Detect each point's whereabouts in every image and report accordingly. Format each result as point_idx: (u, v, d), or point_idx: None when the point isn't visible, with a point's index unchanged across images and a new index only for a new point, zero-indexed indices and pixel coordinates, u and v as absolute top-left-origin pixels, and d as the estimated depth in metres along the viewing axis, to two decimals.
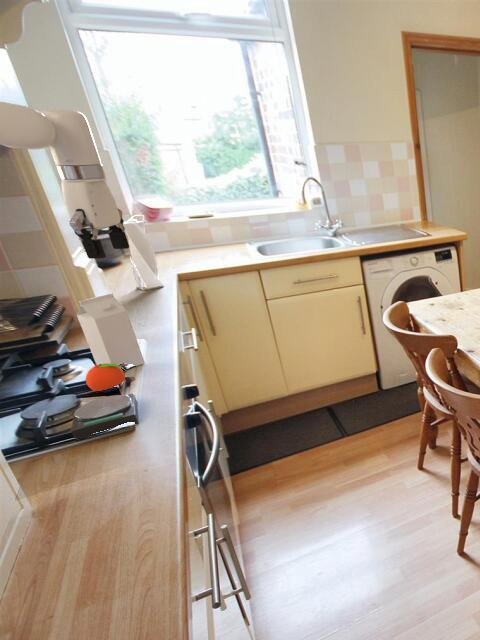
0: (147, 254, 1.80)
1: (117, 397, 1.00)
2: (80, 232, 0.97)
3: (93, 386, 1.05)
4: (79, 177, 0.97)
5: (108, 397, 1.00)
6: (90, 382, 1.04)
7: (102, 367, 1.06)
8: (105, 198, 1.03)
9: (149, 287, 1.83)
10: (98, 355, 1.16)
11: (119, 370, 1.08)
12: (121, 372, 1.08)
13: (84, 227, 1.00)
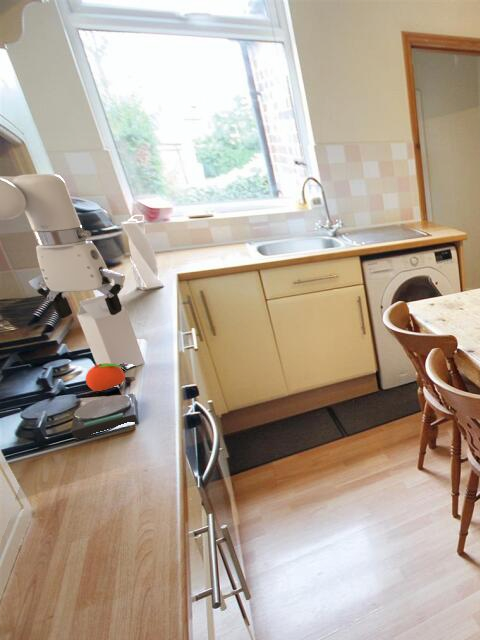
0: (147, 254, 1.80)
1: (117, 397, 1.00)
2: None
3: (93, 386, 1.05)
4: None
5: (108, 397, 1.00)
6: (90, 382, 1.04)
7: (102, 367, 1.06)
8: (65, 264, 0.96)
9: (149, 287, 1.83)
10: (98, 355, 1.16)
11: (119, 370, 1.08)
12: (121, 372, 1.08)
13: None
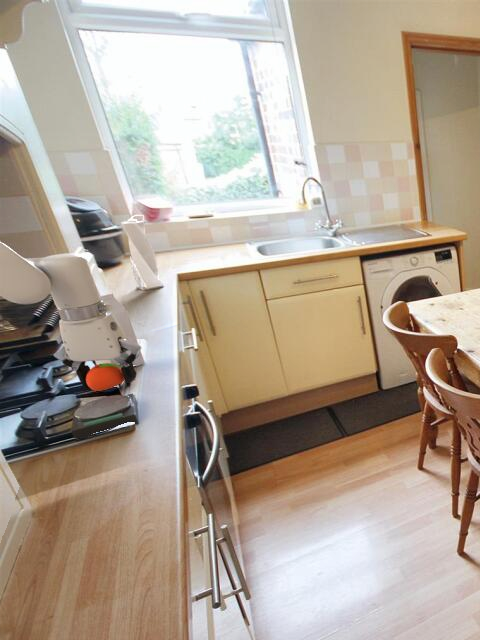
0: (147, 254, 1.80)
1: (117, 397, 1.00)
2: None
3: (94, 386, 1.05)
4: None
5: (108, 397, 1.00)
6: (90, 382, 1.04)
7: (102, 367, 1.06)
8: (86, 337, 1.01)
9: (149, 287, 1.83)
10: None
11: (119, 370, 1.08)
12: (121, 372, 1.08)
13: None
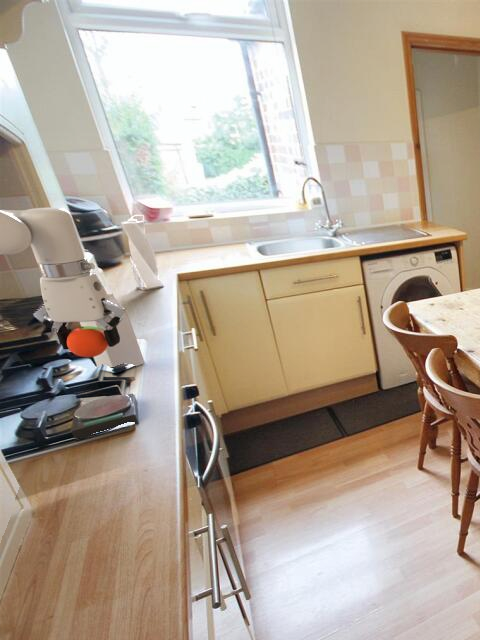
0: (147, 254, 1.80)
1: (117, 397, 1.00)
2: None
3: (74, 349, 1.01)
4: None
5: (108, 397, 1.00)
6: (71, 344, 1.00)
7: (84, 330, 1.02)
8: (68, 296, 0.97)
9: (149, 287, 1.83)
10: (98, 355, 1.16)
11: (102, 334, 1.04)
12: (104, 336, 1.04)
13: None
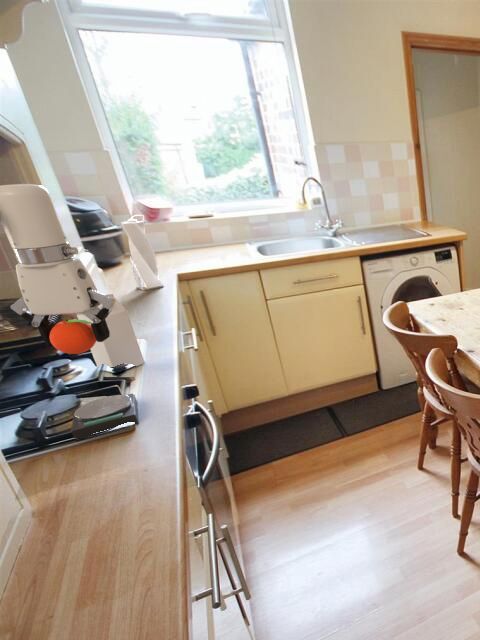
0: (147, 254, 1.80)
1: (117, 397, 1.00)
2: None
3: (58, 345, 0.90)
4: None
5: (108, 397, 1.00)
6: (54, 339, 0.89)
7: (69, 323, 0.90)
8: (49, 285, 0.86)
9: (149, 287, 1.83)
10: (98, 355, 1.16)
11: (90, 327, 0.93)
12: (92, 330, 0.93)
13: None
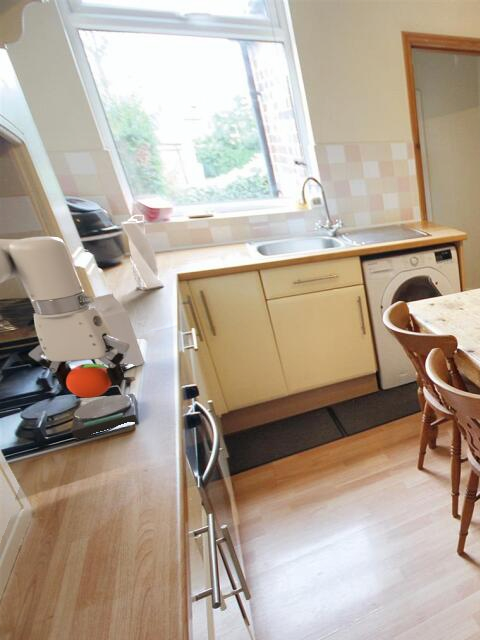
0: (147, 254, 1.80)
1: (117, 397, 1.00)
2: None
3: (75, 390, 0.91)
4: None
5: (108, 397, 1.00)
6: (71, 385, 0.91)
7: (85, 368, 0.92)
8: (66, 333, 0.88)
9: (149, 287, 1.83)
10: None
11: (105, 371, 0.95)
12: (107, 374, 0.95)
13: None
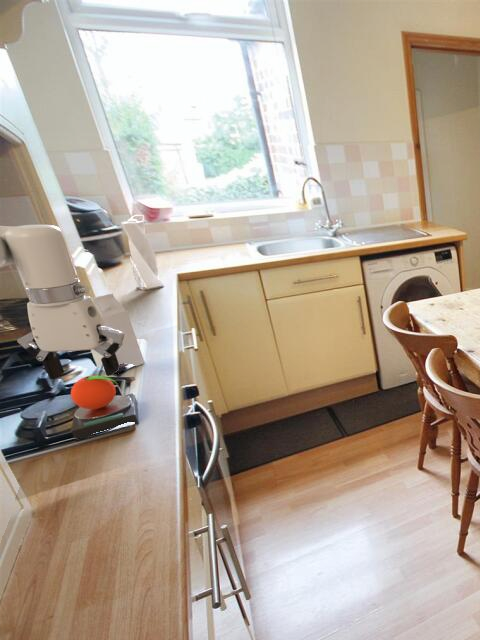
0: (147, 254, 1.80)
1: (117, 398, 1.00)
2: None
3: (79, 402, 0.93)
4: None
5: None
6: (76, 397, 0.92)
7: (89, 380, 0.93)
8: (59, 323, 0.87)
9: (149, 287, 1.83)
10: (98, 355, 1.16)
11: (109, 383, 0.96)
12: (111, 385, 0.96)
13: None
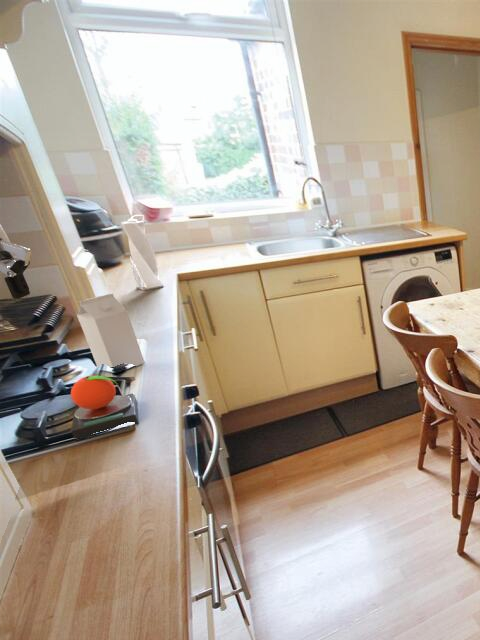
0: (147, 254, 1.80)
1: (117, 398, 1.00)
2: None
3: (79, 402, 0.92)
4: None
5: None
6: (76, 397, 0.92)
7: (89, 380, 0.93)
8: None
9: (149, 287, 1.83)
10: (98, 355, 1.16)
11: (109, 383, 0.96)
12: (111, 385, 0.96)
13: None
